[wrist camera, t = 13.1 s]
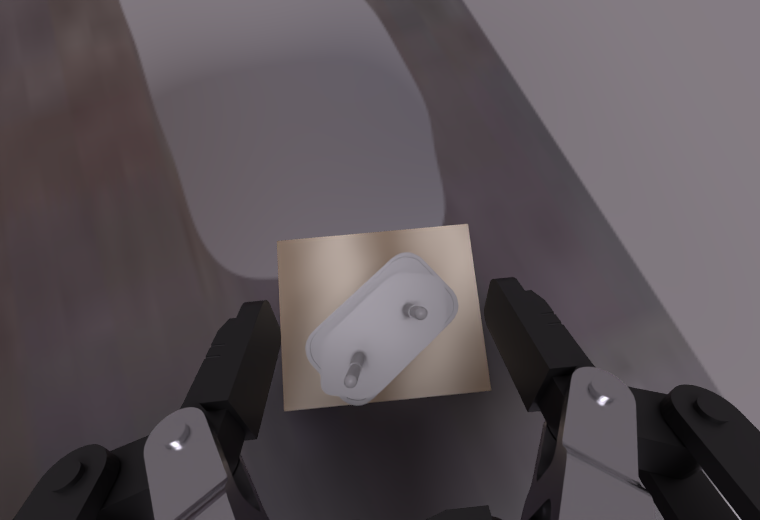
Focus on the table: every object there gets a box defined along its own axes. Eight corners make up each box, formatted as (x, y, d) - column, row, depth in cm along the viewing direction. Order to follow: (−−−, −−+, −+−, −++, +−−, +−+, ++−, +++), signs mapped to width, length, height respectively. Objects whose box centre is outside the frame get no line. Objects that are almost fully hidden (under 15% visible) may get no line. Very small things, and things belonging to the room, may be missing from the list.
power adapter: (330, 328, 17) (222, 386, 5) (396, 266, 18) (431, 195, 6) (365, 368, 17) (334, 524, 5) (431, 304, 17) (544, 308, 6)
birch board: (289, 405, 18) (284, 411, 17) (282, 244, 19) (276, 241, 18) (484, 385, 18) (491, 390, 17) (463, 228, 19) (467, 223, 18)
